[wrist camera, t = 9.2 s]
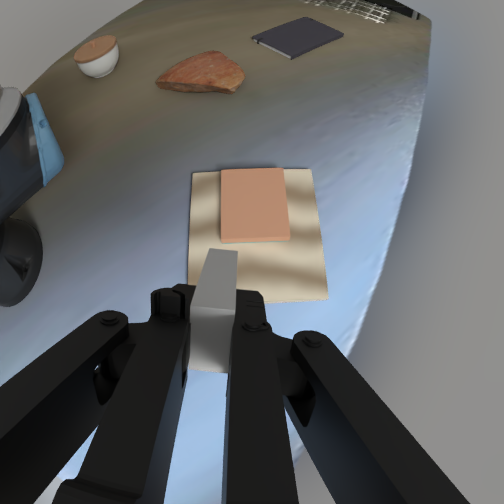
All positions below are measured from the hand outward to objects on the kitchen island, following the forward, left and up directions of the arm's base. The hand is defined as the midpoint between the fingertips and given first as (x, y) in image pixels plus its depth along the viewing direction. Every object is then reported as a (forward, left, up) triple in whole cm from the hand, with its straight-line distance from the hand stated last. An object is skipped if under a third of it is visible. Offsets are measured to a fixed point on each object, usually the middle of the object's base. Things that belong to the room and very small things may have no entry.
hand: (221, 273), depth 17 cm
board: (-10, +9, -24) cm, 27 cm away
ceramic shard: (-44, +18, -25) cm, 53 cm away
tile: (-13, +11, -22) cm, 28 cm away
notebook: (-50, +48, -25) cm, 73 cm away
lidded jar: (-67, +2, -24) cm, 71 cm away
